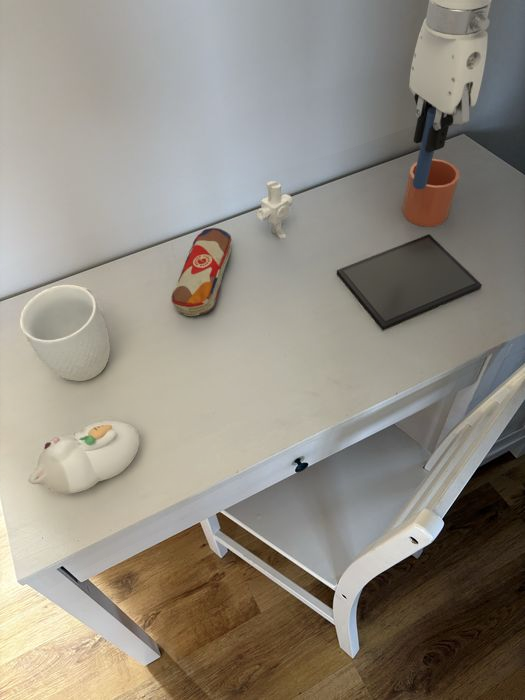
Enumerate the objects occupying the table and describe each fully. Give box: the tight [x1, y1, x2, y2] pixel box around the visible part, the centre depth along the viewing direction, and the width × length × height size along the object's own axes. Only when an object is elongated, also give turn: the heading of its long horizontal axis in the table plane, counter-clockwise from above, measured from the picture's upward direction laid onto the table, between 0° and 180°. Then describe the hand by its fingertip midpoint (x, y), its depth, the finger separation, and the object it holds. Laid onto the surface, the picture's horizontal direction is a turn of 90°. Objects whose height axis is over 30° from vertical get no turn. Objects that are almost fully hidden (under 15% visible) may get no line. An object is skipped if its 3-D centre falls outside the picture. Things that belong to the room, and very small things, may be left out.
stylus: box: [413, 107, 437, 189], centre depth 84 cm, size 2×2×13 cm
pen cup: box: [402, 158, 460, 228], centre depth 102 cm, size 9×9×9 cm
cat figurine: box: [27, 420, 140, 495], centre depth 73 cm, size 10×8×15 cm
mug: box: [19, 284, 111, 382], centre depth 83 cm, size 15×11×13 cm
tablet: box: [336, 233, 483, 331], centre depth 94 cm, size 20×15×1 cm
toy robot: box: [256, 180, 293, 239], centre depth 99 cm, size 4×8×12 cm, turn 133°
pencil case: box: [170, 227, 232, 317], centre depth 96 cm, size 11×20×5 cm, turn 155°
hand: (428, 143), depth 83 cm, fingers closed on stylus, 2 cm apart
